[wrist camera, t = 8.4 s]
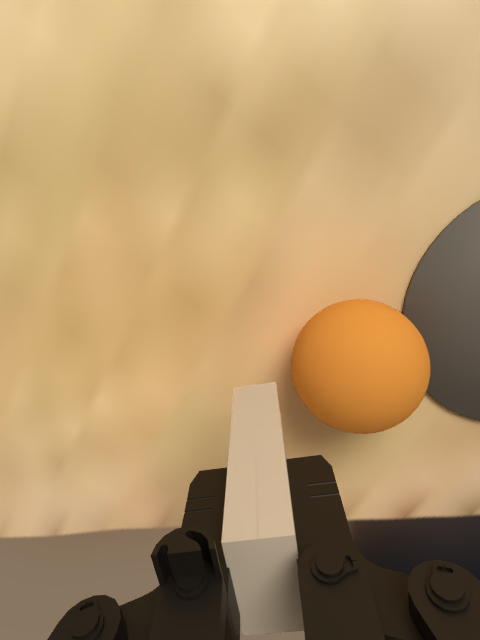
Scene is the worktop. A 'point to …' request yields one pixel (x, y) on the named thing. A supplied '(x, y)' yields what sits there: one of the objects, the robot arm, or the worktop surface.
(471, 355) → the disc
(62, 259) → the worktop surface
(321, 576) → the robot arm
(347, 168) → the worktop surface
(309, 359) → the ball
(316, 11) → the worktop surface
